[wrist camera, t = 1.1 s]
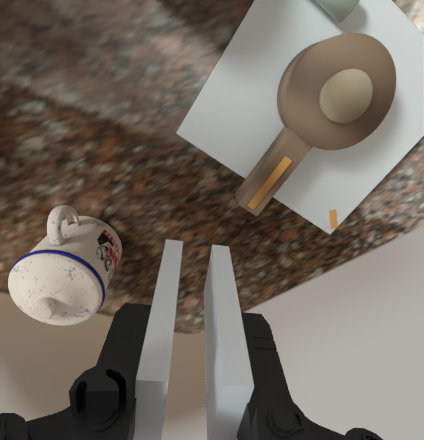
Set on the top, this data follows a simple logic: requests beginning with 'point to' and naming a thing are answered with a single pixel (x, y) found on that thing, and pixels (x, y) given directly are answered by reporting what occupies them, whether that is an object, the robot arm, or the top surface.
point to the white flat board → (268, 112)
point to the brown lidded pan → (323, 108)
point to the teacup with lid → (66, 269)
